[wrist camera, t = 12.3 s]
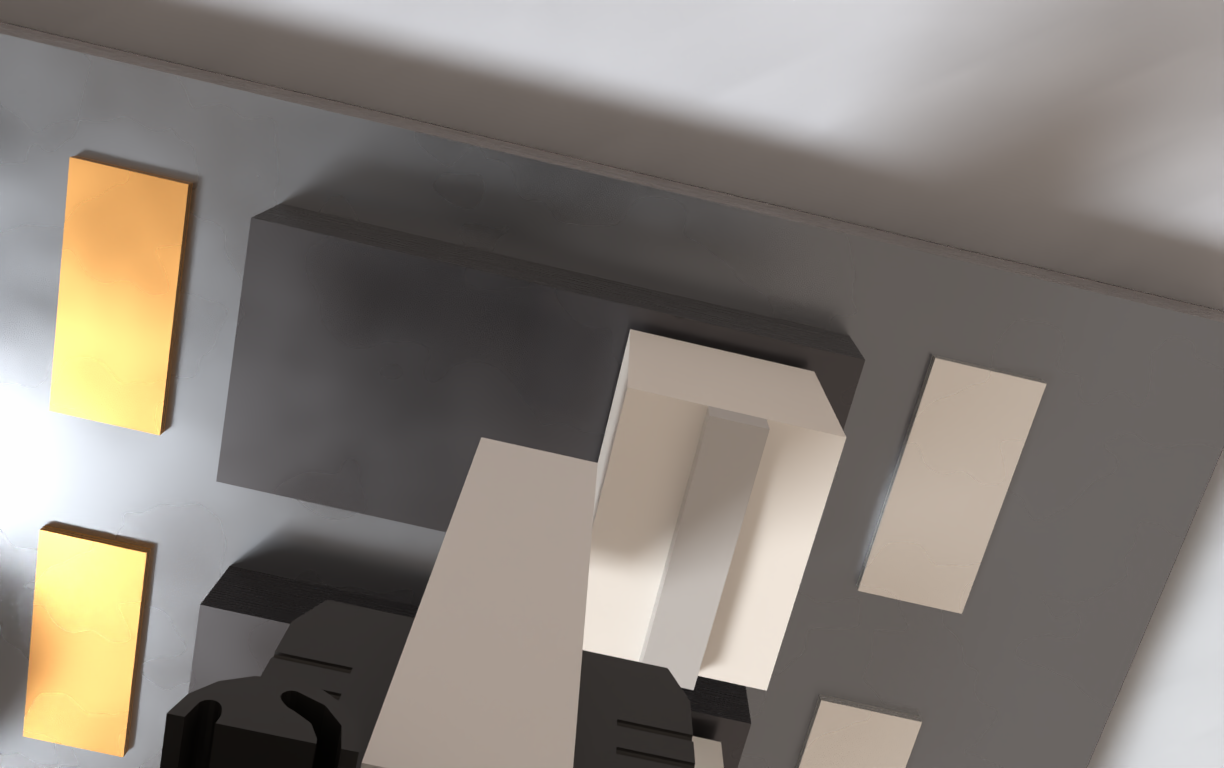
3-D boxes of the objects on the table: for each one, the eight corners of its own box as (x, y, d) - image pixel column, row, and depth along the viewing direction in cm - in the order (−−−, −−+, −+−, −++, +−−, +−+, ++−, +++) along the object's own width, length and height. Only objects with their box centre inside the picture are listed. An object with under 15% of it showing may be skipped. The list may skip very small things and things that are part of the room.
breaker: (575, 552, 19) (561, 661, 16) (629, 329, 18) (627, 397, 15) (748, 591, 19) (769, 705, 16) (814, 371, 18) (852, 448, 15)
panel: (-113, 971, 26) (-206, 1085, 24) (-75, 4, 20) (-196, 1, 17) (876, 1168, 27) (902, 1302, 25) (1228, 312, 21) (1321, 358, 18)
